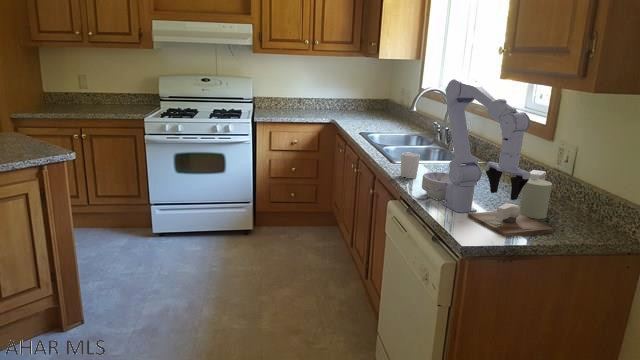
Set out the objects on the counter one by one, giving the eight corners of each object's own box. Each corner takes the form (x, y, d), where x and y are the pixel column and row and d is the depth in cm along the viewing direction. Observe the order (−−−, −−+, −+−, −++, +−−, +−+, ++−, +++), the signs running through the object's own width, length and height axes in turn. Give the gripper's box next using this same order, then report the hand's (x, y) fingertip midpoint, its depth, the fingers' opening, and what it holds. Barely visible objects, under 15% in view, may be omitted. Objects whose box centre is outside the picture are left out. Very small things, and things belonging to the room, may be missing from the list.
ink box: (528, 199, 181) (533, 169, 177) (541, 202, 178) (547, 171, 175) (521, 203, 174) (526, 172, 171) (534, 206, 171) (540, 175, 168)
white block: (506, 211, 153) (508, 201, 152) (521, 215, 150) (523, 205, 149) (491, 216, 147) (493, 206, 146) (506, 221, 144) (508, 210, 143)
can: (538, 210, 167) (544, 177, 164) (551, 219, 158) (558, 184, 155) (513, 209, 167) (518, 176, 164) (524, 218, 158) (530, 183, 155)
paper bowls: (452, 206, 167) (455, 184, 165) (413, 196, 176) (415, 176, 174) (468, 197, 178) (471, 177, 176) (431, 189, 187) (433, 169, 185)
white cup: (421, 178, 203) (423, 155, 200) (405, 179, 200) (407, 156, 197) (411, 174, 210) (413, 152, 207) (395, 175, 207) (397, 152, 204)
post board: (467, 216, 156) (468, 208, 155) (511, 213, 162) (512, 205, 161) (504, 237, 140) (506, 227, 139) (552, 232, 146) (554, 223, 145)
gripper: (482, 148, 147) (476, 190, 150) (521, 158, 135) (514, 204, 138) (498, 147, 150) (491, 188, 154) (537, 157, 138) (530, 201, 142)
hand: (503, 196), depth 146 cm, fingers open, 7 cm apart
